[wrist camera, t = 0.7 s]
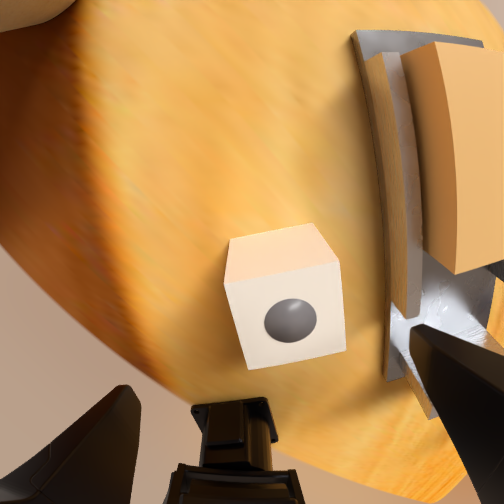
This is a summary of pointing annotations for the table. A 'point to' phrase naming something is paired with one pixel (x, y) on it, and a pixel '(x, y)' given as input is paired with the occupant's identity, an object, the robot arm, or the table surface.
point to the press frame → (414, 218)
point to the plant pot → (29, 12)
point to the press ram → (459, 151)
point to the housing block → (285, 296)
